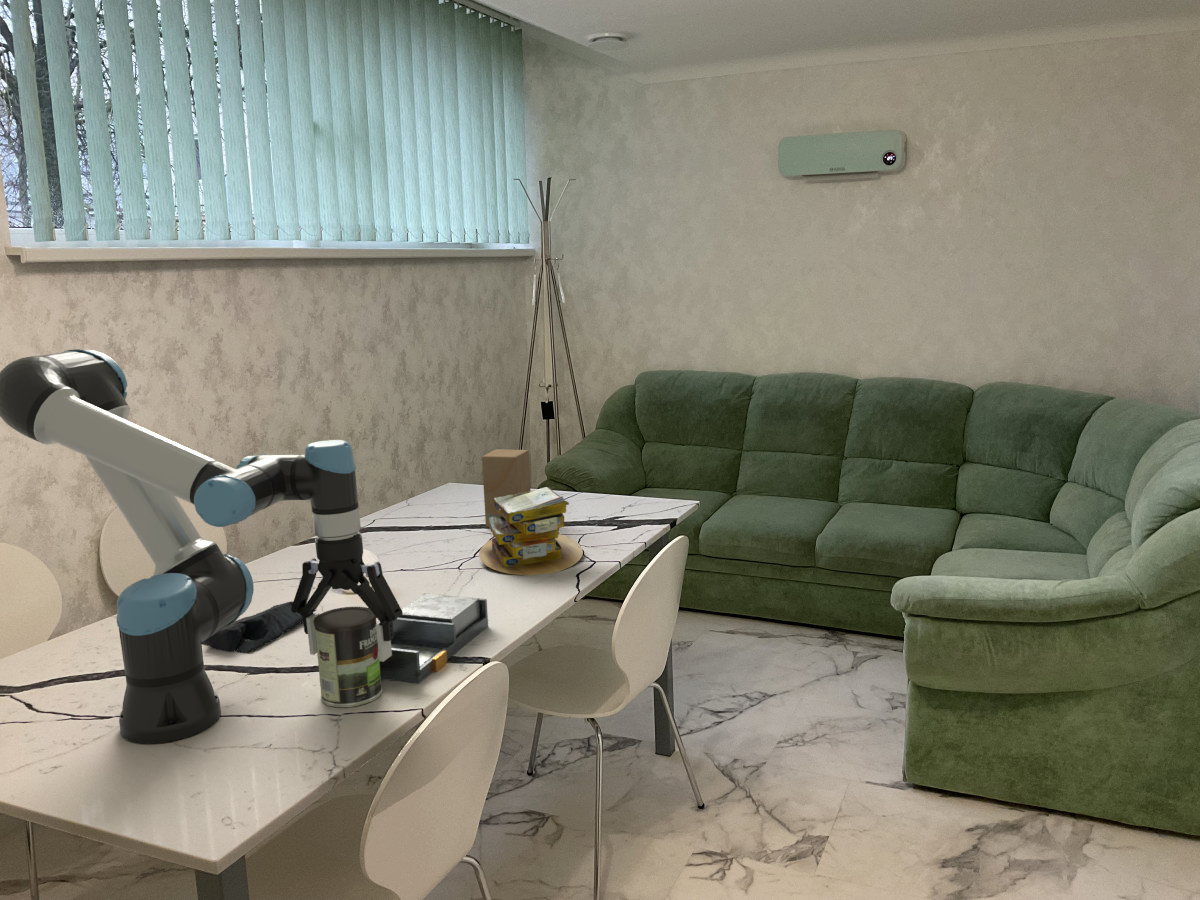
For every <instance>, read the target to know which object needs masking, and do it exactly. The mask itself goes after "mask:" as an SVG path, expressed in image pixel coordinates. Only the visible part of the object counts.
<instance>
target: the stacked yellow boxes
mask: <svg viewBox="0 0 1200 900" xmlns="http://www.w3.org/2000/svg"><path fill="white" fill-rule="evenodd" d="M530 491H531V492H530ZM530 491H528V492H530V493H528V492H525V493H527V494H524V492H523V493H521V492H519V493H520V494H515V495H516V496H515V495H514V496H513V495H507V496H503V497H498V498H494V508H495V510H496V511H498V512H499V514H501V516H498V515H495V516H494V515H490V514H488V513H487V514H488V515H490V516H489V517H488V518H489V528H488V529H489V530H490V531H491V533H492V535H493V537H494V538H491V539H490V540H488V541H487V542H486V543H484V544H483V545H482V547H481V548H480V549H479V552H478V553H479V554H478V556H479V558H480V561H481V563H483V564H484V565H485V566H487V567H488V568H490V569H492V570H494V571H497V572H500V573H504V574H508V575H517V576H536V575H544V574H553V573H558V572H560V571H563V570H567V569H569V568H570V567H572V566H574V565H576V564H577V563H578V562H579V561H580V560H581V558H582V557H583V554H584V553H583V552H584V551H583V548H582V546H581V545H580V544H579V543H578V542H577V541H576V540H574V539H573V538H571V537H569V536H566V535H564V534H560V529H561V528H564V527H565V515H564V514H565V513H567V506H568V505H570V503H569V502H568V500H565V499H564V496H562V495H560V494H558V493H556V492H555V491H554V489H551V488H550V487H547V486H545V487H541V488H539V489H538V488H537V489H536V490H530Z"/></svg>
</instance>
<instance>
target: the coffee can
mask: <svg viewBox="0 0 1200 900" xmlns="http://www.w3.org/2000/svg"><path fill="white" fill-rule="evenodd" d="M313 622H314V626H315V633H316V645H317V653H316V654H317V655H316V656H317V665H318V674H319V683H320V684H319V686H320V694H321V696H320V700H321V702H322V703H323V704H324V705H327V706H328V707H334V708H353V707H358V706H359V707H360V706H362V705H366V704H369V703H371V702H373V701H375V700H377V699H378V698H379V697H380V696H381V695H382V693H383V688H382V679H381V675H380V663H379V651H378V641H377V631H376V624H377V623H378V622H377V617H376V616H375V615H374V614H373V613H372V611H371V610H370V609H369V608H368V607H367V606H366V607H365V606H344V607H339V608H334V609H329V610H326V611H323V612H322V613H319V615H318V616H316V617H315V618H314V621H313Z"/></svg>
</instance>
